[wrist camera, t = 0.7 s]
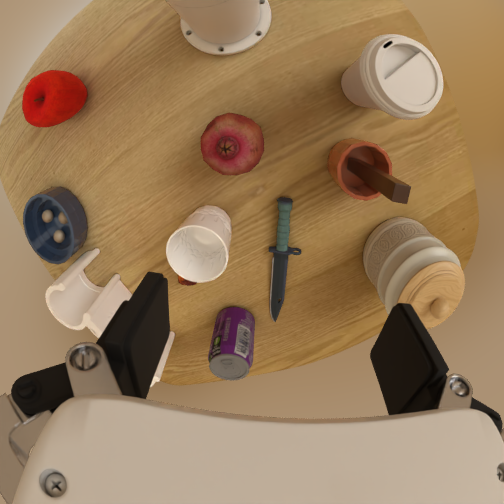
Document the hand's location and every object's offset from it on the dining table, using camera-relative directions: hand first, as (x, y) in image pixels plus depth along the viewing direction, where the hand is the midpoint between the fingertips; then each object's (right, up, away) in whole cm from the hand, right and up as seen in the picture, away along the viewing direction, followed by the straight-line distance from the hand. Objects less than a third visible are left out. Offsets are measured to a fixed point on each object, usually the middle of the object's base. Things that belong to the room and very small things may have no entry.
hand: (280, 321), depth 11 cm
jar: (+23, +3, +33) cm, 41 cm away
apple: (-30, +28, +23) cm, 47 cm away
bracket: (-26, -7, +41) cm, 49 cm away
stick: (+13, +15, +27) cm, 34 cm away
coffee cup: (+15, +26, +22) cm, 37 cm away
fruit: (-3, +18, +27) cm, 33 cm away
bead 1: (-39, +9, +31) cm, 50 cm away
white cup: (-7, +7, +33) cm, 34 cm away
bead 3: (-37, +6, +33) cm, 49 cm away
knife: (+4, 0, +35) cm, 36 cm away
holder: (+13, +16, +27) cm, 34 cm away
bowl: (-36, +9, +33) cm, 50 cm away
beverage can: (-4, -10, +41) cm, 42 cm away
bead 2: (-34, +9, +31) cm, 47 cm away
